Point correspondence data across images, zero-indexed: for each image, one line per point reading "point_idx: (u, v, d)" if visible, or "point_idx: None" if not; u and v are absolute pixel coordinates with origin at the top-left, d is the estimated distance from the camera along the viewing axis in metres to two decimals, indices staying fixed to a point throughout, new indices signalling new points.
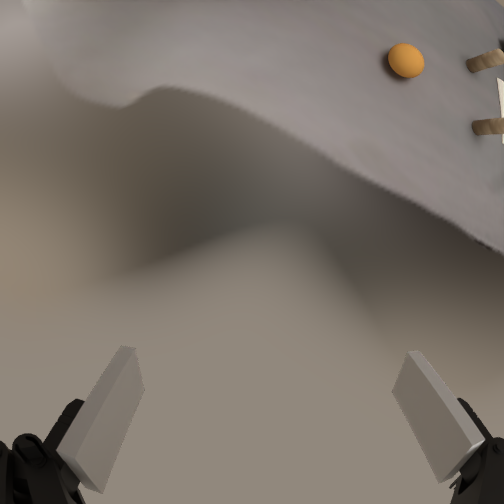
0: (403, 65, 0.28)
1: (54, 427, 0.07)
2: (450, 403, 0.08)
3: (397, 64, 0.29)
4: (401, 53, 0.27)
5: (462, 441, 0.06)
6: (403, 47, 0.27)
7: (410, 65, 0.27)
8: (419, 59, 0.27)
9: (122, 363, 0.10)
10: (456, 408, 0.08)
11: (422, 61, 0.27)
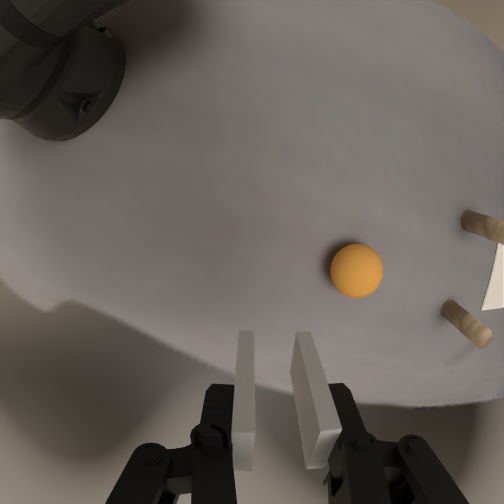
0: (345, 293, 0.27)
1: (201, 415, 0.09)
2: (316, 384, 0.10)
3: (338, 288, 0.27)
4: (345, 279, 0.26)
5: (316, 425, 0.08)
6: (351, 267, 0.25)
7: (355, 294, 0.26)
8: (372, 284, 0.25)
9: (250, 344, 0.13)
10: (320, 390, 0.10)
11: (378, 281, 0.26)
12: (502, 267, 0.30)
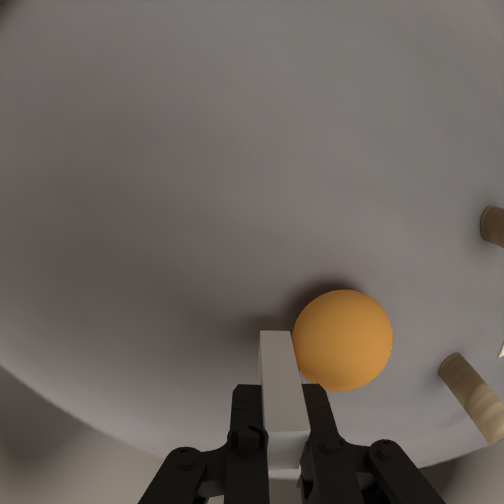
0: None
1: None
2: (289, 384, 0.10)
3: (356, 388, 0.13)
4: (384, 366, 0.12)
5: None
6: (390, 342, 0.12)
7: None
8: None
9: (273, 344, 0.13)
10: (293, 390, 0.10)
11: None
12: None
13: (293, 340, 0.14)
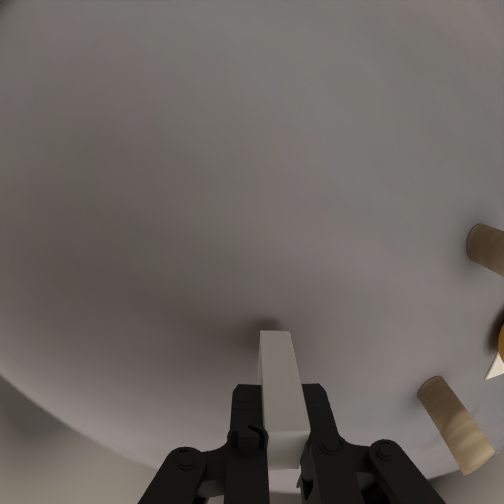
0: None
1: (231, 415, 0.09)
2: (289, 384, 0.10)
3: None
4: None
5: None
6: None
7: None
8: None
9: (273, 344, 0.13)
10: (293, 390, 0.10)
11: None
12: None
13: None
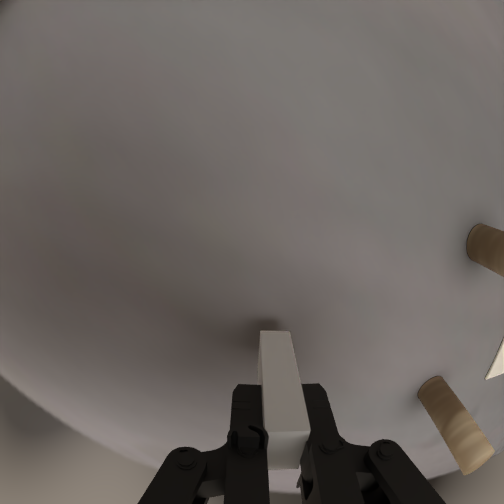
0: None
1: (231, 415, 0.09)
2: (289, 384, 0.10)
3: None
4: None
5: None
6: None
7: None
8: None
9: (273, 344, 0.13)
10: (293, 390, 0.10)
11: None
12: None
13: None
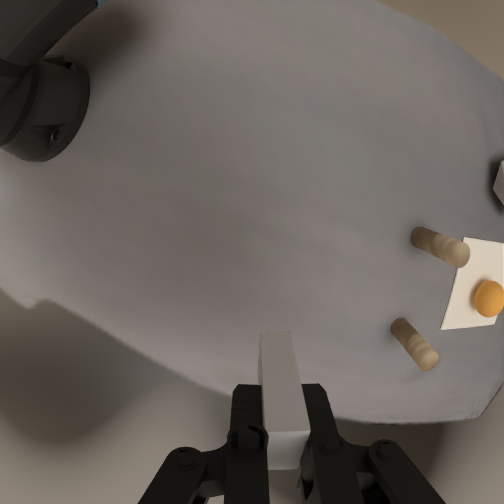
0: (476, 308, 0.32)
1: None
2: (289, 384, 0.10)
3: None
4: (475, 297, 0.31)
5: None
6: (479, 290, 0.31)
7: (479, 310, 0.31)
8: (487, 306, 0.29)
9: (273, 344, 0.13)
10: (293, 390, 0.10)
11: (492, 306, 0.28)
12: (465, 286, 0.33)
13: None
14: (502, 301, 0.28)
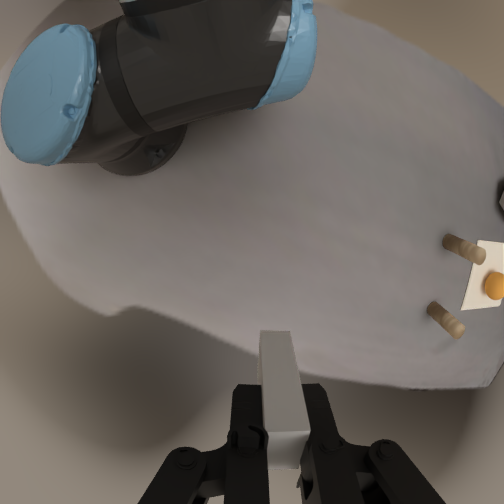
0: (486, 293, 0.41)
1: None
2: (289, 384, 0.10)
3: None
4: (486, 285, 0.40)
5: None
6: (489, 280, 0.40)
7: (489, 295, 0.40)
8: (495, 291, 0.38)
9: (273, 344, 0.13)
10: (293, 390, 0.10)
11: (499, 291, 0.37)
12: (478, 276, 0.41)
13: None
14: None
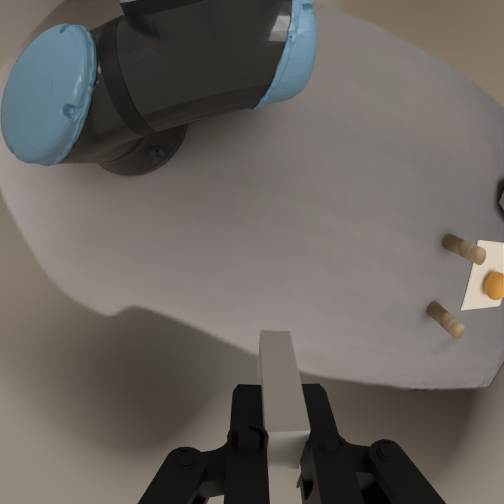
0: (486, 293, 0.41)
1: None
2: (289, 384, 0.10)
3: None
4: (486, 285, 0.40)
5: None
6: (489, 280, 0.40)
7: (489, 294, 0.40)
8: (495, 291, 0.38)
9: (273, 344, 0.13)
10: (293, 390, 0.10)
11: (499, 291, 0.37)
12: (478, 276, 0.41)
13: None
14: None
